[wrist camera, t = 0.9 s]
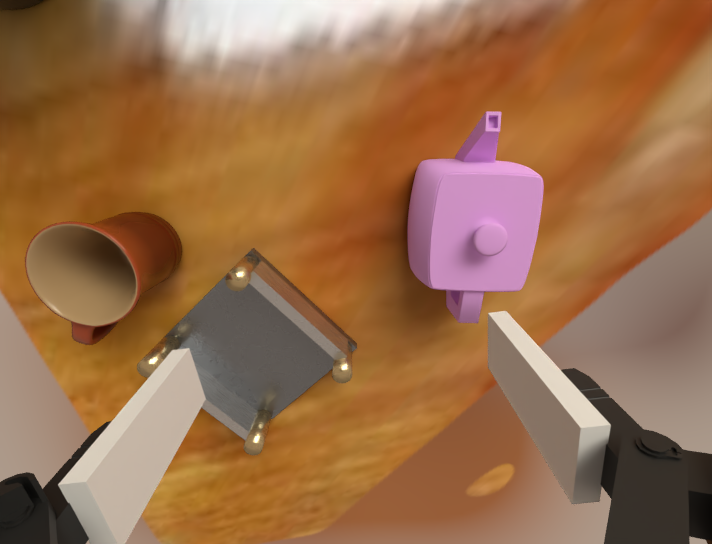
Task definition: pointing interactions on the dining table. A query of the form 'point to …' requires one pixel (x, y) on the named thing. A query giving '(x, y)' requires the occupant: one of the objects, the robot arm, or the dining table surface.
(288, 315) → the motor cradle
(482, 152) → the teapot
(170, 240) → the mug
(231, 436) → the dining table surface
